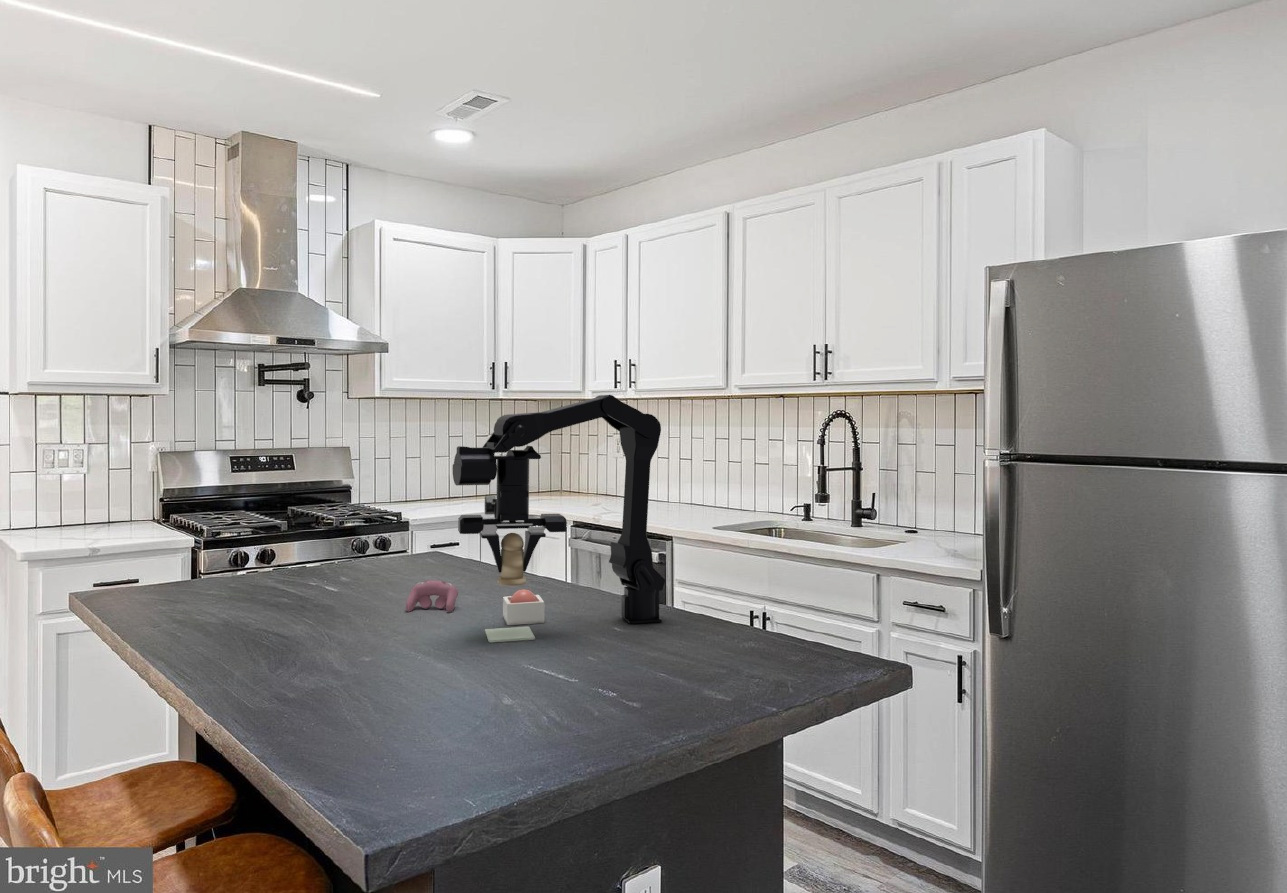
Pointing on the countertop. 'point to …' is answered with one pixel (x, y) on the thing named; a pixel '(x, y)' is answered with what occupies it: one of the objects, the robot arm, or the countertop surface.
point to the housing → (523, 611)
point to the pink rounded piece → (523, 596)
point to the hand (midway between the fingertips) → (511, 571)
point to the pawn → (512, 560)
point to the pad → (509, 634)
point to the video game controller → (430, 588)
